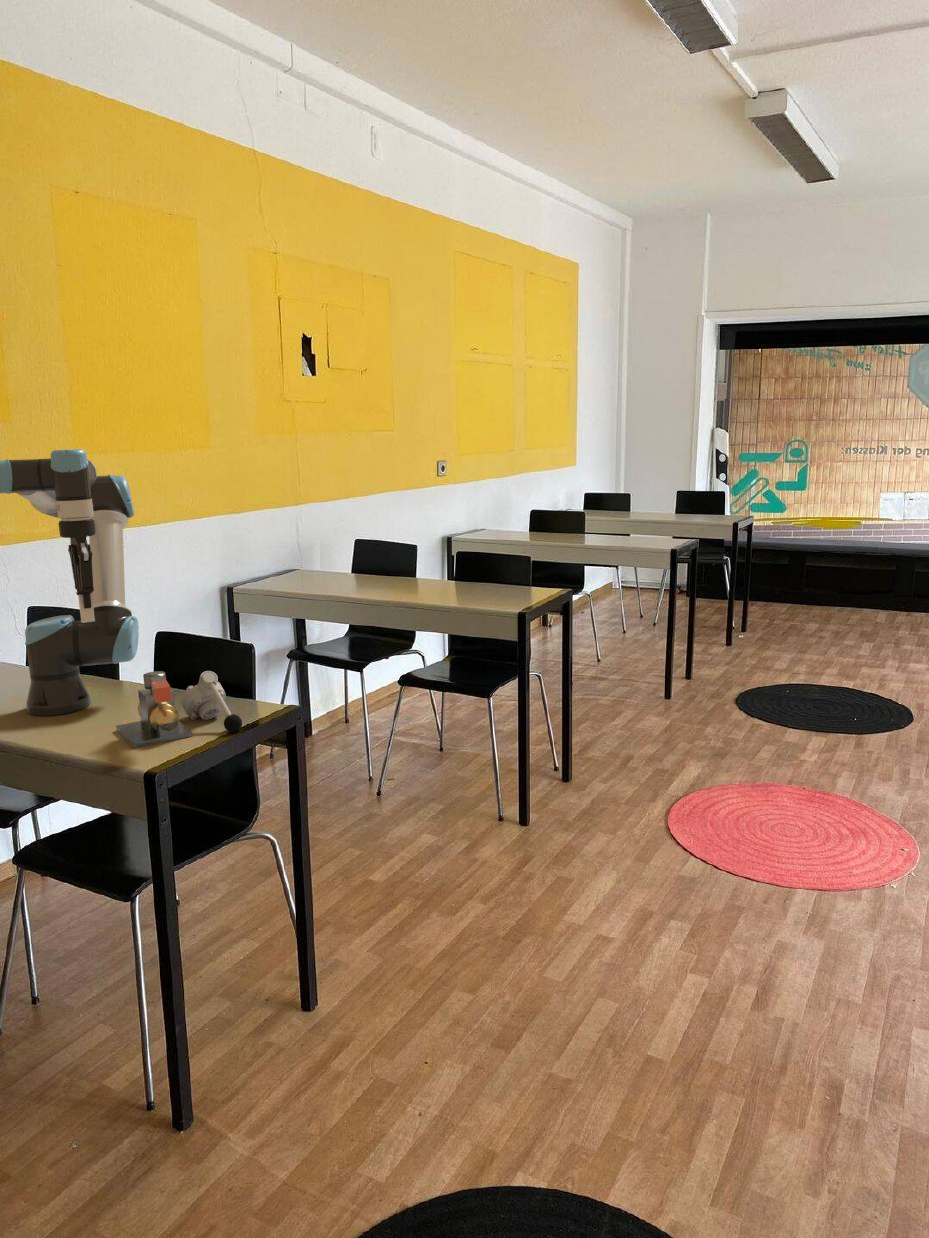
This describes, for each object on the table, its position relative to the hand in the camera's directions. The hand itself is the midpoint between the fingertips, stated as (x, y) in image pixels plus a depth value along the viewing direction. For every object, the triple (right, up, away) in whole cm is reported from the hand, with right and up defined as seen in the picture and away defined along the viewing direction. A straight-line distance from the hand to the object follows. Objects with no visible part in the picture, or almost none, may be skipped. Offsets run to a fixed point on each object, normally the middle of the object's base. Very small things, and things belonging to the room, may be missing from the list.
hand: (88, 621), depth 215 cm
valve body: (+14, -26, +2) cm, 30 cm away
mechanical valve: (+28, -25, +9) cm, 38 cm away
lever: (+18, -16, -4) cm, 24 cm away
